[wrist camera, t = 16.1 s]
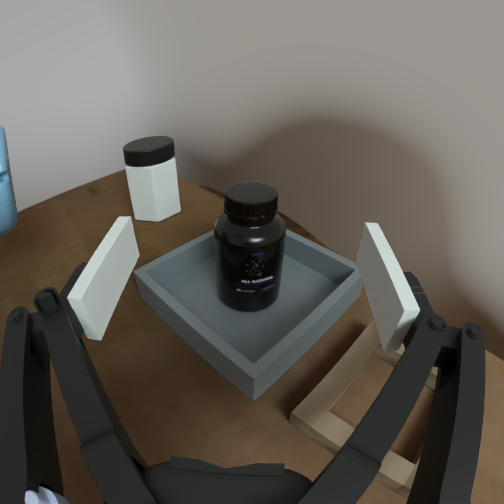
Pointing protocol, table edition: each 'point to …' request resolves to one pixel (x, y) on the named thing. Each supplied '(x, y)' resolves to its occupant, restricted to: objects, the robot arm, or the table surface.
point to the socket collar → (336, 430)
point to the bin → (250, 323)
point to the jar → (152, 178)
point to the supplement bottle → (249, 247)
